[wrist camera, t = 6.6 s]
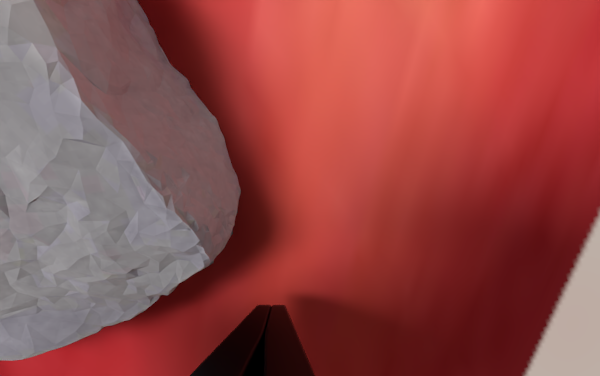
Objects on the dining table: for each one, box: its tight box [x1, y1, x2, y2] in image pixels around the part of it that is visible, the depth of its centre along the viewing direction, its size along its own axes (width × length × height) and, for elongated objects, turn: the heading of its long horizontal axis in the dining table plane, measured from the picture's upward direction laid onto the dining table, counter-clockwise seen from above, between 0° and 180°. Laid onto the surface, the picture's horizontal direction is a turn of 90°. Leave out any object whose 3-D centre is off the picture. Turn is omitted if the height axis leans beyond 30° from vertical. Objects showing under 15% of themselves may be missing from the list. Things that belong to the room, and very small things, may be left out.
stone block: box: [0, 0, 241, 360], centre depth 8 cm, size 12×5×10 cm
